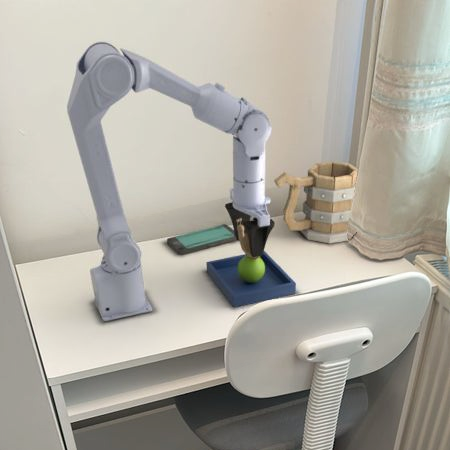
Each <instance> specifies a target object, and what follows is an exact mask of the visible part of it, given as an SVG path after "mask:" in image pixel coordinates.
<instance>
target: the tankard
mask: <svg viewBox="0 0 450 450" xmlns="http://www.w3.org/2000/svg"><path fill="white" fill-rule="evenodd" d="M358 170H359V169H358V168H357V167H356V166H354V165H353V164H351V163H349V162H342V161H340V162H339V161H335V160H334V161H333V160H330V161H324V162H316V163H314V164H313V165H311V167H310V168H309V169H308V170H307V176H304V177H299V176H295V175H292V174H290V173H287V172H283V173H280V175H278V177H276V178H274V183H275V185H276V186H277V187H278V188H281V187H282V186H283V185H285V184H287V185H289V190H288V196H287V199H286V202H285V205H284V208H283V215H282V217H283V221H284V224H285V225H286V226H287V229H288V230H289V231H299V232H300V233H301V234H302V235H303V236H304V237H305V238H306V239H307V240H308V241H313V242H319V243H325V244H329V245H330V244H336V243H341V242H347V241H349V240H348V239H347V229H348V223H349V218H350V212H351V206H352V201H353V196H354V190H355V183H356V177H357V171H358ZM301 187H303V192H304V193H305V194H306V197H305V198H306V200H305V201H304V202H303V203H302V214H304V215H305V216H304V218H303V219H299V220H295V213H294V212H295V210H296V208H297V207H296V206H297V204H298V201H299V198H300V192H301Z"/></svg>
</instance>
